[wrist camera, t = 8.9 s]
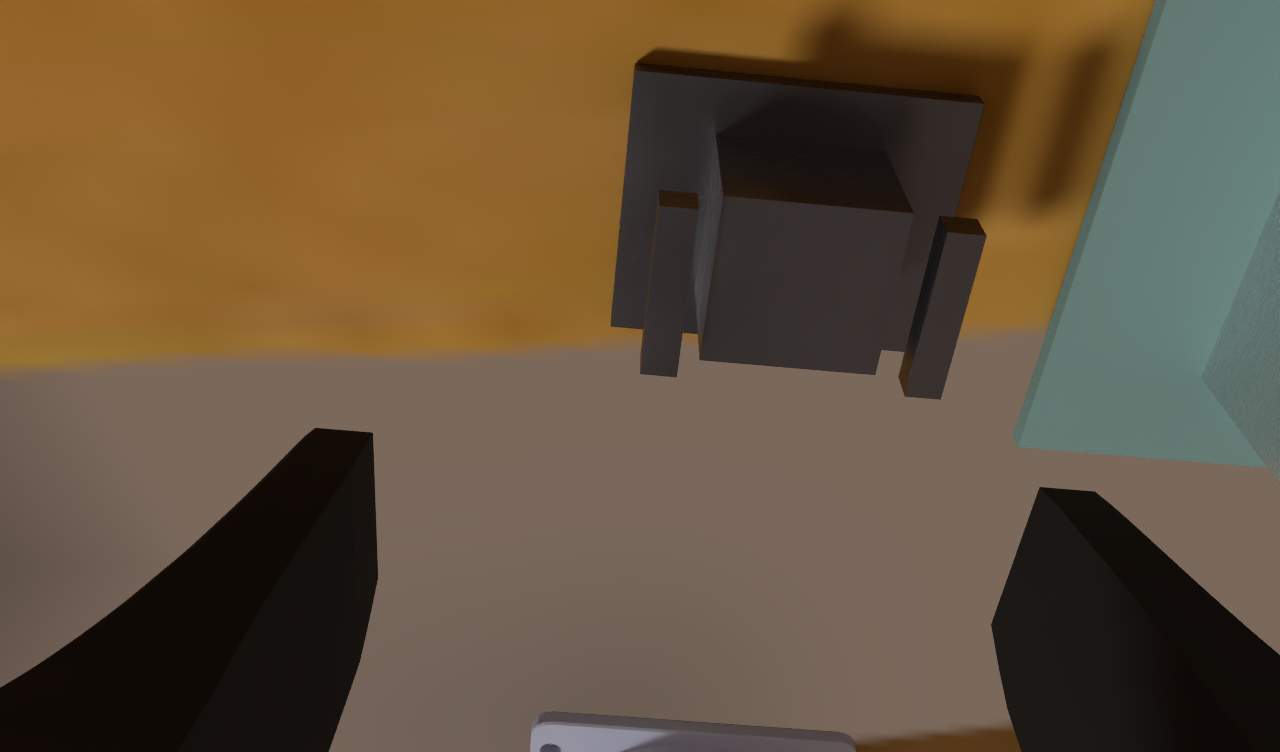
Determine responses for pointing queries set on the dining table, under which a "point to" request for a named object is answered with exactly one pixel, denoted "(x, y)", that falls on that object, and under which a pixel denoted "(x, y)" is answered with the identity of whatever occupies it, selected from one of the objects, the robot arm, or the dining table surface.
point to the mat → (1166, 243)
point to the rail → (1253, 350)
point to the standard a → (796, 223)
